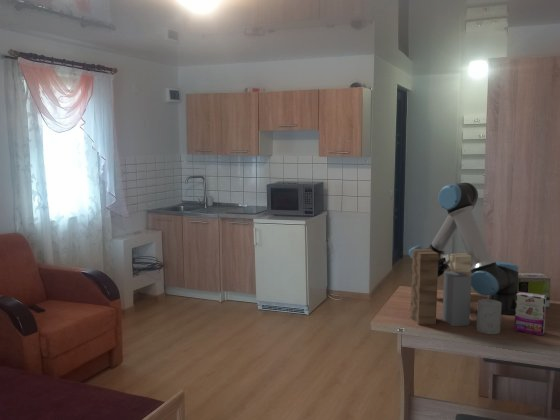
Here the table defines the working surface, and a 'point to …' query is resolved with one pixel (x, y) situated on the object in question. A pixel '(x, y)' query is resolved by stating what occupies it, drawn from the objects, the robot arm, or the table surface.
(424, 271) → the walnut plinth
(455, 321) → the grey pedestal
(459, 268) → the tan wooden bar
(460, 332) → the table surface
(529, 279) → the tea box
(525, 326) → the candy bar box
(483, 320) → the concrete cylinder
